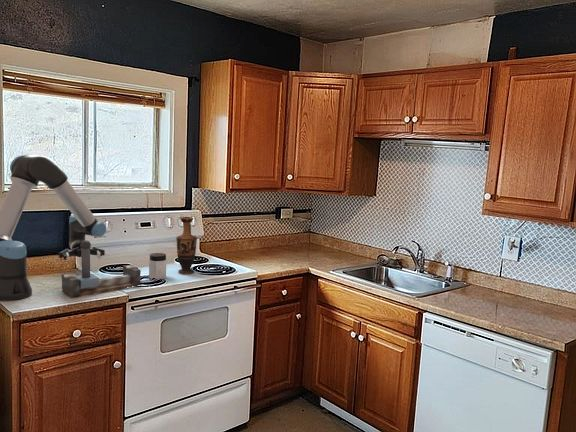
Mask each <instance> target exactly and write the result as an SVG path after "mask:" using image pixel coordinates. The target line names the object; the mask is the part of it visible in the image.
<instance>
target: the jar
mask: <svg viewBox="0 0 576 432" xmlns="http://www.w3.org/2000/svg"><path fill="white" fill-rule="evenodd" d="M149 277H151V278H155V279H154V280H156V279H157V280H164V279H165V278H166V277H167V255H166V253H163V252H153V253H150V254H149V260H148V278H149ZM151 278H150V279H151Z"/></svg>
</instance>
